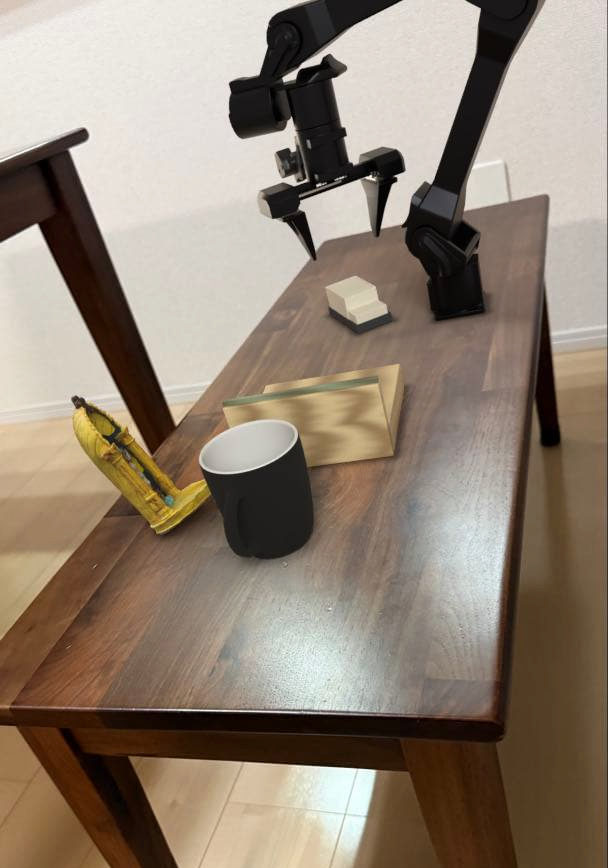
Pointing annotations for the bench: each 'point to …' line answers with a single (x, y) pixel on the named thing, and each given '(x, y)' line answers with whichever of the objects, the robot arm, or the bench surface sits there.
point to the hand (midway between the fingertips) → (345, 248)
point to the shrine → (134, 469)
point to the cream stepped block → (357, 304)
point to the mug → (260, 487)
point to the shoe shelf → (332, 413)
